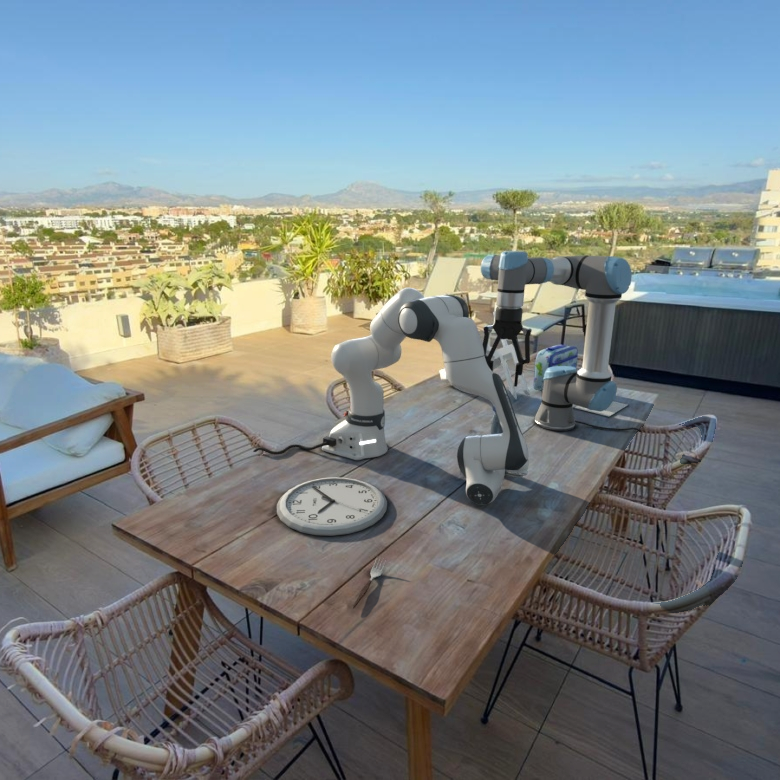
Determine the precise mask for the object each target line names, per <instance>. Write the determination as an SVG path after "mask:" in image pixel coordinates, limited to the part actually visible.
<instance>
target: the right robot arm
mask: <svg viewBox="0 0 780 780" xmlns="http://www.w3.org/2000/svg"><path fill="white" fill-rule="evenodd" d="M480 273H481V275H482V277H483V278H484V279H486V280H491V281H497V291H496V303H495V305H496V306H497V307H496V308H495V311H496V314H495V318H494V323H493V324H492V325H487V324H486V325H484V326H483V333H484V335H483V339H482V340H483V341H482V344H483V349H484V354H485V359H486V362H487V365H488V366H489V368H490V369H491V371H492V372H493V373H494V370H493V362H494V361H491V358H492V356H493V354H494V352H495V350H497V347H498V346H499V344H500V342H501V339H506V340H508V341H511V342H512V345H513V346H514V348H515V352H516V355H517V359H518V362H519V363H517V364H516V366H515V373H514V381H513V385H514V388H517V387H518V383H519V376H518V375H522V372H523V373H524V371H523V370H524V365H525V364H530V362H531V333H532V331H533V329H532V328H530V327H529V328H527V327H524V326H523V324H522V321H523V311H524V310H523V308H522V307H524V301H525V300H524V299H525V289H526V288H525V287H526V285H527V286H528V285H542V284H546V283H548V282H550V283H551V284H552V285H556V286H564V287H568V288H573V289H577V290H583V291H585V293H584V294H585V295H584V297H585V298H586V299H587V300H588V309H587V318H586V327H585V336H584V337H585V338H584V348H583V357H582V365H581V368H579V369H578V368H577V367H576V368H575V367H572V366H554V367H550V368H547V369H546V371H545V374H544V378H543V379H544V382H543V391H541V392H542V394H541V402H540V405H539V407H538V410H537V411H536V413H535V417H534V424H535V425H536V426H537V427H539V428H542V429H544V430H549V431H556V432H567V431H572V430H574V429H575V428H576V423H577V424H580V425H584V426H588V427H591V428H595V429H600V430H609V431H631V430H634V431H637V432H639V433H640V434H641V433H642V434H643V431H642V430H641V429H639V428H637V427H626V428H625V427H624V428H617V427H616V428H615V427H605V426H598V425H594V424H591V423H588V422H587V423H586V422H583V421H579V420H577V419H576V418H575V417H576V416H575V413H574V407H573V405H574V406H581V407H584V408H587V409H589V410H595V411H604V410H606V409H607V408H608V407H609V406H610V405H611V403H612V402H613V401H614V400H615V398H616V395H617V392H618V385H617V383H616V382H615V381H613V380H612V376H613V375H612V373H611V372H610V371H609V362H610V353H611V346H612V339H613V337H612V336H613V331H614V323H615V322H614V321H615V315H616V314H615V313H616V306H617V305H616V304H617V302H619V301H620V300H621V299H622V295H623V294H626V293H627V292H628V290H630V286H631V283H632V269H631V265H630V264H629V261H627V260H626V259H625V258H623V257H617V256H613V255H612V256H611V255H609V256H608V255H587V254H586V255H585V254H582V255H581V254H580V255H570V256H555V257H553V258H547V257H543V256H538V257H529V256H528V252H526V251H523V250H522V251H521V250H504V251H502V252H501V253H500V254H499V255H498V254H489V255H488V254H487V255H486V256H485V257H484V258H483V259H482V261H481V263H480ZM492 330H493V331H494V332H495V334H496V338H495V339H494V342H493V344H492V347H491V350H490V353H489V355H488V356H487V355H486V350H487V345H488V344H489V339H490V334H491V333H492ZM521 332H522V334H523V336H524V357H523V353H522V350H521V347H520V343H519V338H518V336H519V334H520V333H521Z"/></svg>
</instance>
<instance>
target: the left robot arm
mask: <svg viewBox="0 0 780 780" xmlns="http://www.w3.org/2000/svg"><path fill="white" fill-rule="evenodd" d="M369 331H370V335H367V336H365V337H359V338H352V339H351V338H350V339H346V340H345V341H342V342H340V343H337V344H336V345H334V347H333V348H332V351H331V354H330V360H331V365H332V367H333V368H334V370H335V371H336V372H337V373H339V374H340V375H342V377H344V379H345V381H346V384H347V385H348V389H349V401H350V405H349V407H348V409H346V410H345V412H344V413H343V418H345V419H343V420H342V421H340V422H339V423H338V424H336V425H335V426H334V427H332V429H331V430H330V433H329V435H328V436H327V435H326V436H324V437H323V438H322V442H321V443H318V444H316V445H313V446H304V445H301V444H290V445H288V446H286V447H285V448H283V449H281V450H278V451H274V450H270V449H268V448H266V447H264V446H263V447H262V446H259V447H258V446H257V447H256V448H254V450H253V451H252V452H253V453H257V452H258V451H262V452H265V453H267V454H270V455H282V454H284V453H286V452H287V451H289V450H290V449H293V448H299V449H302V450H304V451H313V450H316V449H318V448H319V449H320V448H321V450H322V451H323V452H327V453H328V454H329V453H330V454H333V455H337V456H340V457H344V458H347V459H351V460H355V461H360V460H364V459H371V458H376V457H380V456H383V455H384V454H386V453H387V452H388V450H389V447H388V445H387V444H388V443H387V441H386V434H385V423H386V414H385V413H386V412H385V409H384V405H385V403H384V400H385V399H384V396H385V393H384V392H385V390H384V388H383V386H382V385H381V384H380V383H379V382H377V381H376V380H374V379H373V378H374V377H373V371H377V370H380V369H387V368H388V367H390V366H392V365H394V364H396V363H398V362H399V361H400V359H401V357H402V345H401V344H402V342H403V341H404V340H405V339H406V338H409V339H411V340H412V339H413V340H418V341H423V342H427V343H430V342H432V341H433V340H435V341H436V342H437V343H438V344H439V347H440V349H441V354H442V361H443V367H444V368H445V373H446V376H447V379H448V381H449V382H450V383H451V384H450V385H451V386H453V387H454V388H455V389H457V390H459V391H461V392H463V393H467V394H471V395H475V396H479V397H480V398H481V397H482V398H484V399H486V400H487V401H488V402H490V403H491V404H492V406H493V405H494V407H495V409H496V412H497V415H498V418H499V421H500V424H501V427H502V430H503V433H500V434H491V433H490V434H476V435H468V436H465V437H463V439H462V440H461V442H460V443H459V445H458V447H457V453H456V461H457V466H458V468H459V473H460V475H461V476H462V477H464V478H465V479H466V483H465V484H466V485H465V494H466V497H467V498H468V500H469V501H470V502H472V503H473V504H475V505H478V506H486V505H490V504H491V503H492V502H494V501H495V499H496V498H497V497H498V494H499V492H500V490H501V487H502V483H503V482H504V479H505V476H506V477H507V476H508V477H514V478H522V477H524V476H525V477H526V476H527V475H528V472H529V471H528V469H529V463H530V462H529V446H528V444H527V442H526V439H525V437H524V435H523V432H522V430H521V428H520V425H519V422H518V418H517V417H516V413H515V410H514V407H513V404H512V401H511V399H510V398H511V397H510V395H509V393H508V390H507V387H506V385H505V383H504V381H503V379H502V378H501V376H500V374H498V373H496V372H494V371H493V372H492V371H491V369H490V368H489V366H488V365H487V362H486V359H485V354H484V349H483V341H482V340H483V339H482V337H481V333H480V330H479V328H478V326H477V323H476V322H475V321H474V320H473V319H472V318H470V309H469V306H468V303H467V302H466V301H465V299H463V298H462V297H460V296H457V295H453V294H445V295H444V294H443V295H431V296H427V297H425V296H424V295H423V293H422V292H420V291H419V290H418V289H416V288H413V287H404V288H402V289H401V290H399V291H398V292H397V293H395V294H394V295H393V296H391V298H389V300H388V301H387V302H386V303H385V304H384V305H383V306H382V308H381V309H380V310H379V311H378V313H377V314H376V315H375V316H374V317H373V319H372V321H371V322H370V325H369ZM444 368H443V369H444Z"/></svg>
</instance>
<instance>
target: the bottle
mask: <svg viewBox="0 0 780 780" xmlns="http://www.w3.org/2000/svg"><path fill="white" fill-rule="evenodd" d="M500 433H503V430H502V427H501V424H500V421H499V418H498V415H497V412H494V413H493V416H492V420H491V423H490V434H500Z"/></svg>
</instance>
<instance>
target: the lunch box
mask: <svg viewBox="0 0 780 780" xmlns="http://www.w3.org/2000/svg"><path fill="white" fill-rule="evenodd" d="M578 353H579V352H578V347H577V346H571V345H565V344H556V345H553V346H549V347H546V348H544V349H541V350H539V351H538V353H537V354H536V357H535V361H534V371H533V372H534V373H533V389H534V390H535V391H539V392H542V391H543V382H544V379H543V378H544V374H545V371H546V369H547V368H550V367H554V366H572V367H575V368H577V366H578V356H579V354H578Z"/></svg>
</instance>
